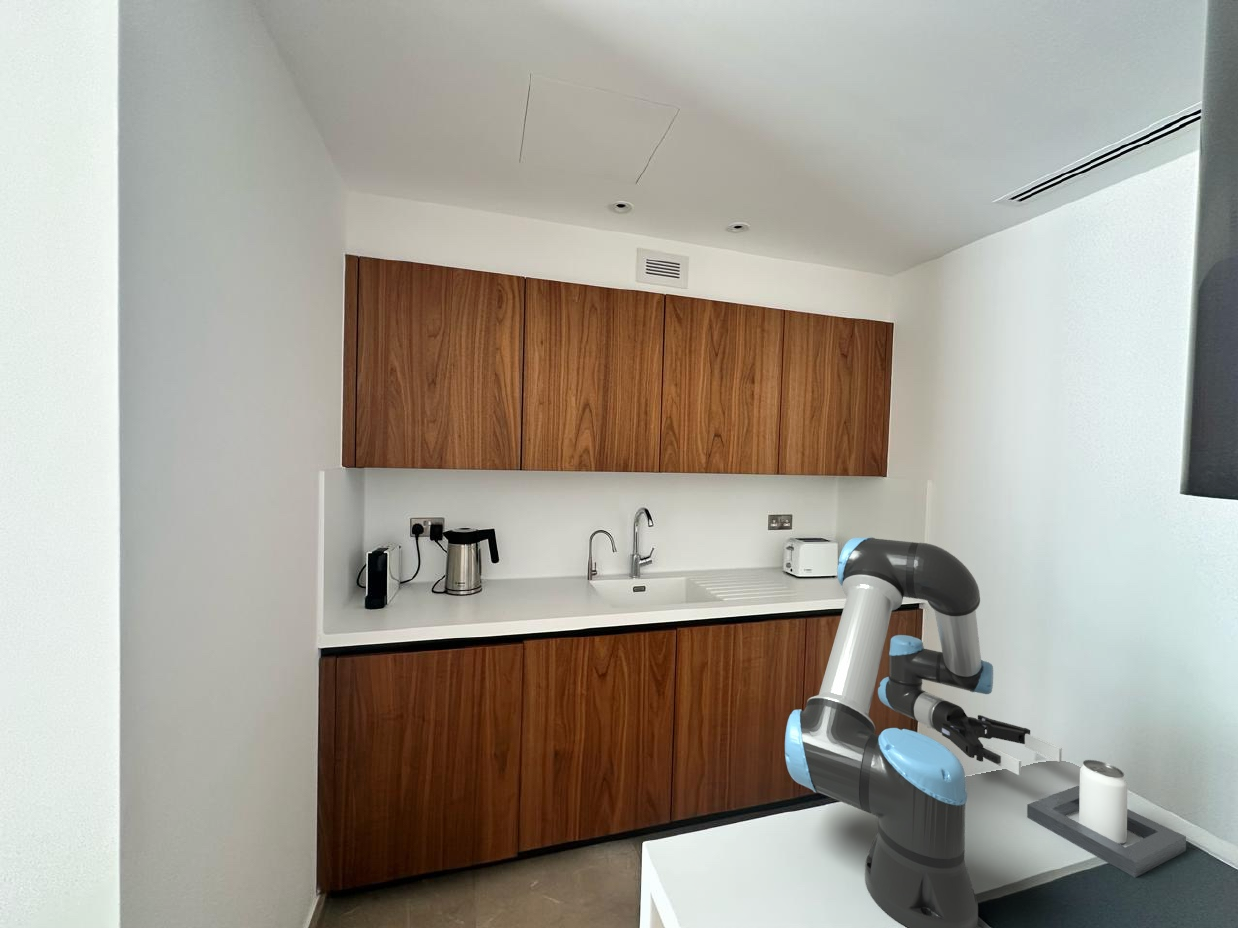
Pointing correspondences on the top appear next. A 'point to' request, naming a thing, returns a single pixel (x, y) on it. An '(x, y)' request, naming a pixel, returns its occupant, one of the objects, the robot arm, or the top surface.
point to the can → (1103, 800)
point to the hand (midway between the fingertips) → (1041, 761)
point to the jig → (1129, 859)
